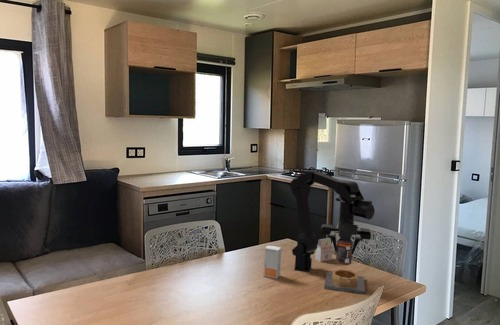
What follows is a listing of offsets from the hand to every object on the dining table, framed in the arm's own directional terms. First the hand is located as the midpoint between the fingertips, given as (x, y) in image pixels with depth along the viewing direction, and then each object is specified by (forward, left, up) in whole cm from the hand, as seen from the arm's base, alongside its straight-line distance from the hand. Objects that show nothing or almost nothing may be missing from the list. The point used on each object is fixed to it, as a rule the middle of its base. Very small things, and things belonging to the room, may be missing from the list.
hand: (344, 253), depth 157 cm
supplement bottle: (0, 0, -4) cm, 4 cm away
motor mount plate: (+1, +1, -13) cm, 13 cm away
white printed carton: (-9, +27, -13) cm, 32 cm away
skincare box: (-28, -1, -13) cm, 31 cm away
